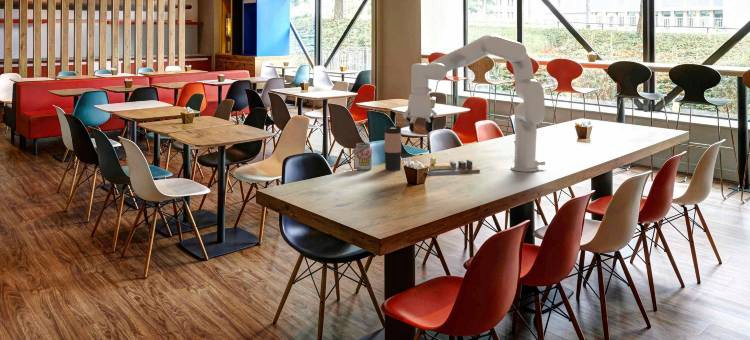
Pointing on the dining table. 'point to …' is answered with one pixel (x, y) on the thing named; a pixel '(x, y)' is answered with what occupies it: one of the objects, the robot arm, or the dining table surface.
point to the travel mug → (392, 148)
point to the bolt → (436, 167)
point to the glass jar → (363, 156)
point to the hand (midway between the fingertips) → (419, 131)
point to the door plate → (444, 170)
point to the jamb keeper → (466, 167)
